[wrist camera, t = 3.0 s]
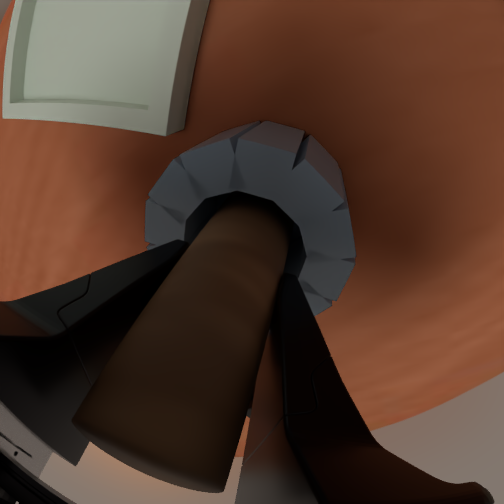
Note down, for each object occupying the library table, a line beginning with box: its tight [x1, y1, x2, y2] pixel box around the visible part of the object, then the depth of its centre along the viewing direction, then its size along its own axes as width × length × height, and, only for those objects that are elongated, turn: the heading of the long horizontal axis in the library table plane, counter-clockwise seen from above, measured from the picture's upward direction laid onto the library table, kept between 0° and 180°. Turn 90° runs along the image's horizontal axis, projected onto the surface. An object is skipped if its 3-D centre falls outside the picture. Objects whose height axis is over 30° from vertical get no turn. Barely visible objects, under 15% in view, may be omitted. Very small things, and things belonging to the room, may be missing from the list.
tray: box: [3, 0, 210, 136], centre depth 9 cm, size 13×13×2 cm
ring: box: [145, 121, 356, 316], centre depth 12 cm, size 7×7×4 cm
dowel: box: [72, 190, 294, 493], centre depth 9 cm, size 3×3×11 cm
